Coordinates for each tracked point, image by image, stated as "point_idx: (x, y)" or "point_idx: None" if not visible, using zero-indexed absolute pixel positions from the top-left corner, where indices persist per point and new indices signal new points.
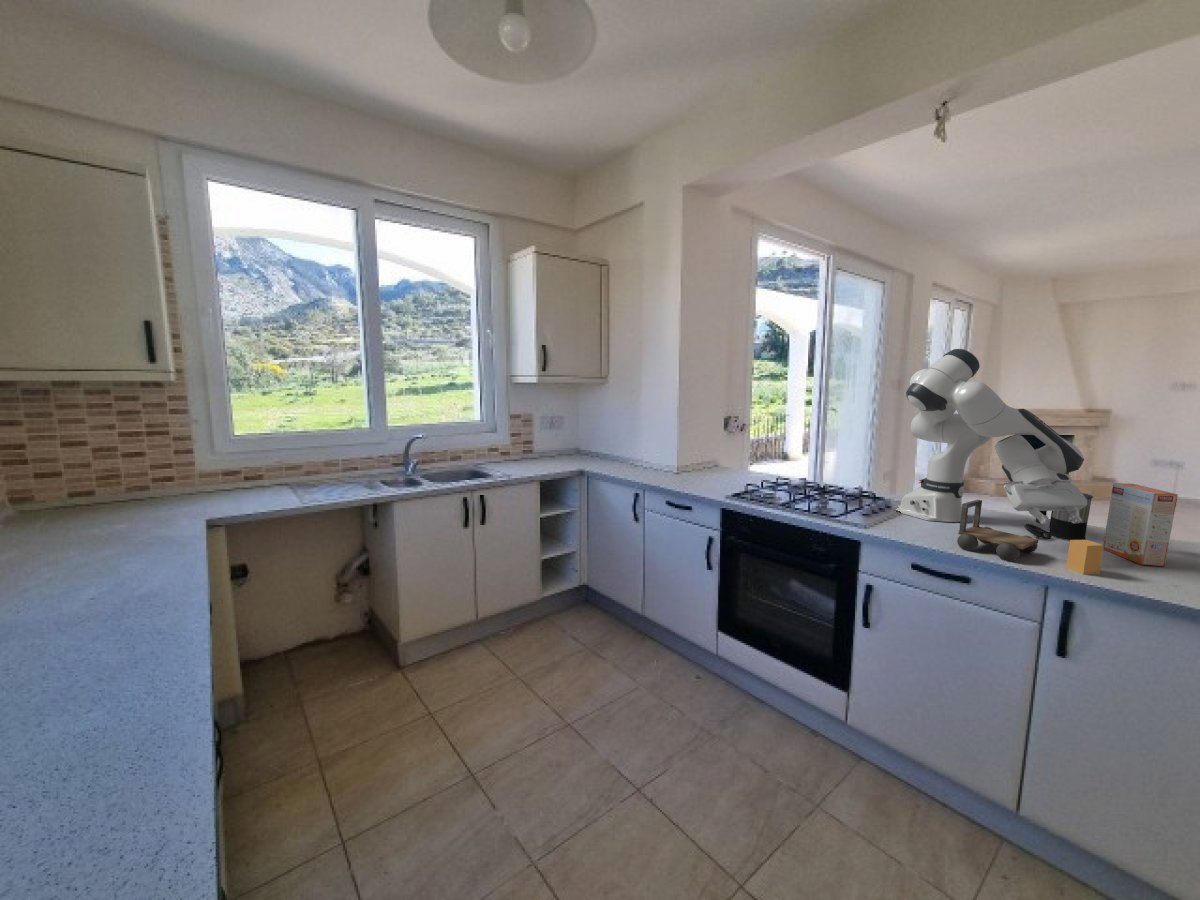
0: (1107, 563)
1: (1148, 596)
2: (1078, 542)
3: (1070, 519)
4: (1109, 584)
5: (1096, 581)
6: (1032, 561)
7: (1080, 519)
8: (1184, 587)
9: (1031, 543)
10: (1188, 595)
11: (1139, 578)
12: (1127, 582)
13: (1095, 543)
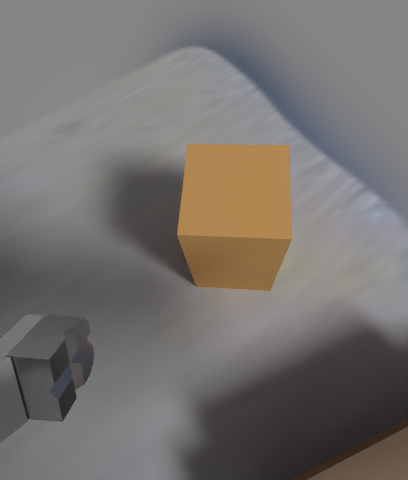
0: None
1: (244, 77)
2: (284, 194)
3: (69, 400)
4: None
5: None
6: (361, 386)
7: (33, 319)
8: (60, 117)
9: (393, 431)
10: (124, 78)
11: (104, 178)
12: None
13: (198, 172)
